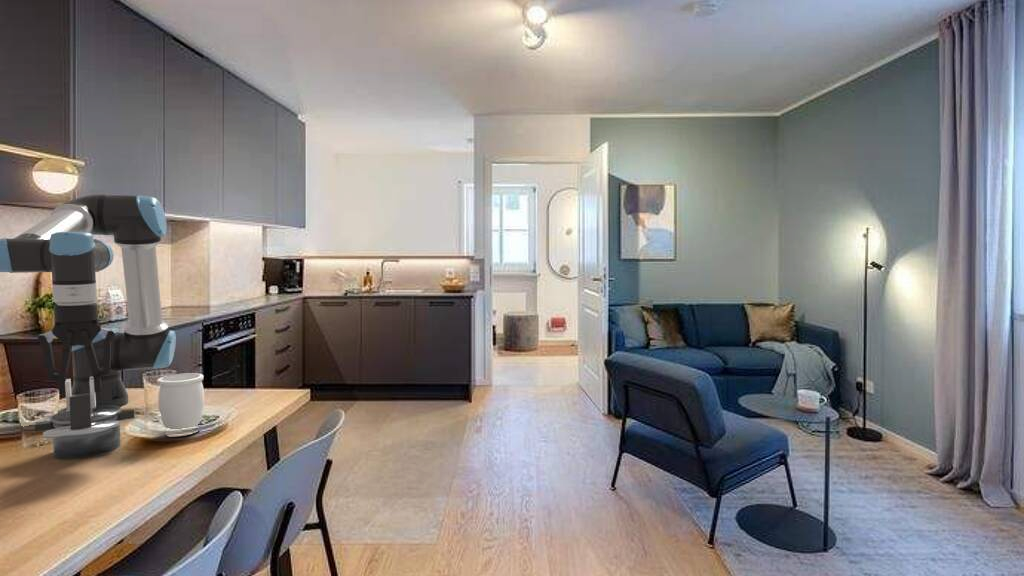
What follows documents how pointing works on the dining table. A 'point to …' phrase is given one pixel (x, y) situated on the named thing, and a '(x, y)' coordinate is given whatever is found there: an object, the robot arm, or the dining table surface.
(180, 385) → the jar
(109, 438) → the pot
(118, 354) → the robot arm
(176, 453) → the dining table surface
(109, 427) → the lid
